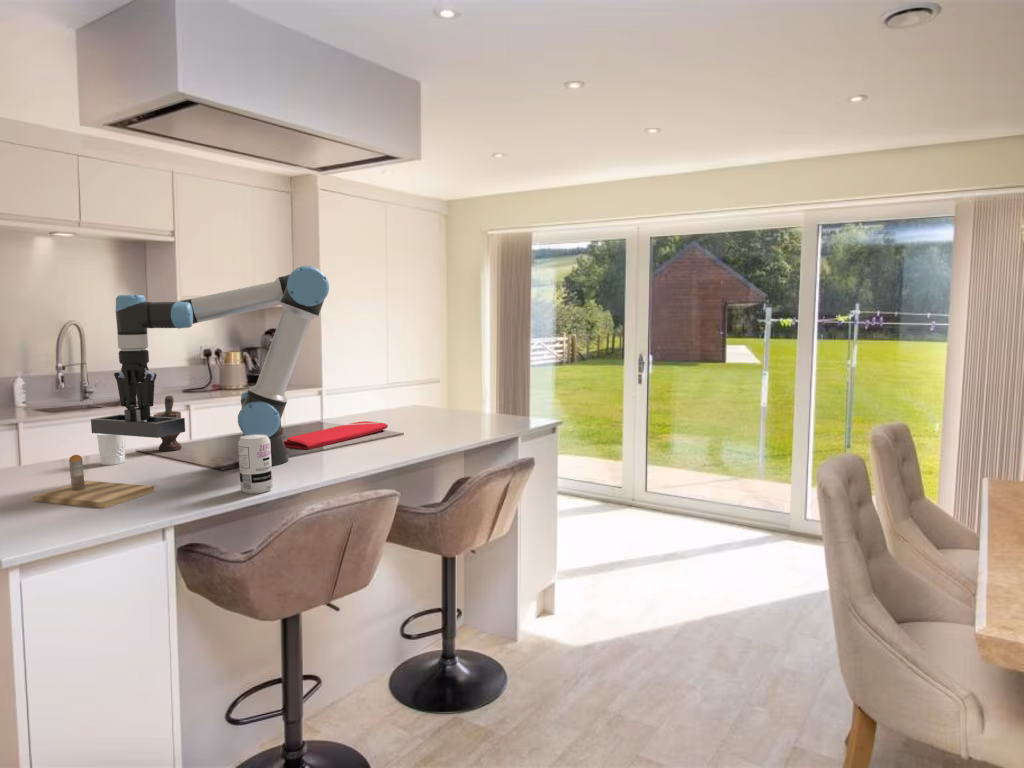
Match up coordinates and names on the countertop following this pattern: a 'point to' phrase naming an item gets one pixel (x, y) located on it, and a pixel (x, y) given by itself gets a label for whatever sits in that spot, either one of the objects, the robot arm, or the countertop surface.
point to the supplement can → (255, 463)
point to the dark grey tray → (138, 425)
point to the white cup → (111, 448)
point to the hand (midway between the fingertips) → (138, 431)
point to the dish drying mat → (334, 435)
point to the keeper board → (91, 490)
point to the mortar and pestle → (170, 441)
